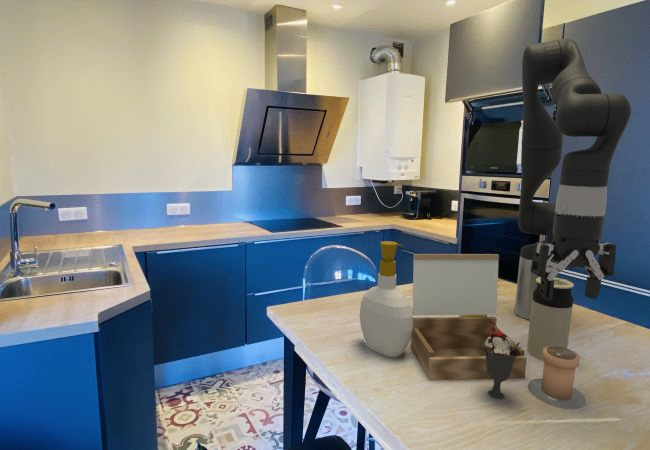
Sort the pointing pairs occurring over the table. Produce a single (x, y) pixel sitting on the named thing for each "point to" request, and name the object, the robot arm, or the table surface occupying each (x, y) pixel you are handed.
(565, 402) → the slate saucer
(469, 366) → the box
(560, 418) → the table surface
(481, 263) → the frame lid
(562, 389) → the clay pot
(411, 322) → the soap bottle
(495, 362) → the sundae
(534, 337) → the travel mug
